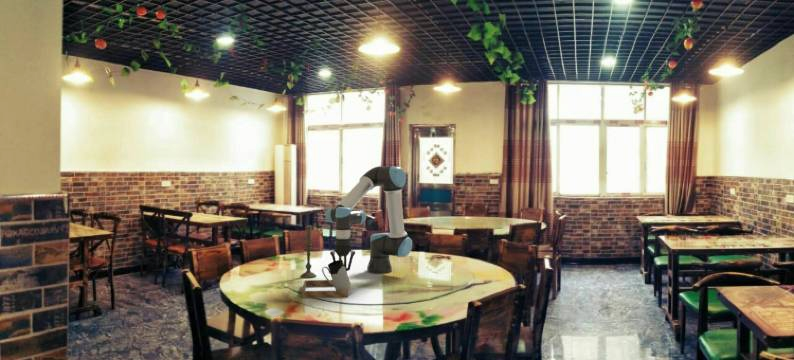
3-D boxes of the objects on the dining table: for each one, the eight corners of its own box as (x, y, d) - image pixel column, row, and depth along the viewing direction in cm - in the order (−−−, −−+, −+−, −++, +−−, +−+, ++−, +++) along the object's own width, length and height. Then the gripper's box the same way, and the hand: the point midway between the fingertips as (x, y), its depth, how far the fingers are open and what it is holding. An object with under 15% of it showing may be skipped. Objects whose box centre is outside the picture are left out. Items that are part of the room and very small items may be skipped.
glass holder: (346, 294, 236) (336, 265, 234) (324, 296, 243) (315, 268, 242) (356, 286, 243) (346, 258, 242) (334, 288, 251) (325, 261, 249)
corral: (347, 285, 259) (347, 279, 259) (348, 297, 235) (348, 290, 235) (304, 286, 257) (304, 280, 257) (300, 297, 233) (300, 291, 233)
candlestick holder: (318, 275, 284) (318, 223, 283) (313, 278, 275) (314, 225, 274) (302, 274, 285) (303, 223, 284) (298, 278, 275) (298, 225, 275)
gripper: (329, 238, 242) (329, 286, 242) (356, 238, 244) (355, 285, 244) (330, 236, 249) (329, 282, 250) (355, 236, 251) (354, 282, 251)
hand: (342, 284), depth 247 cm, fingers closed
